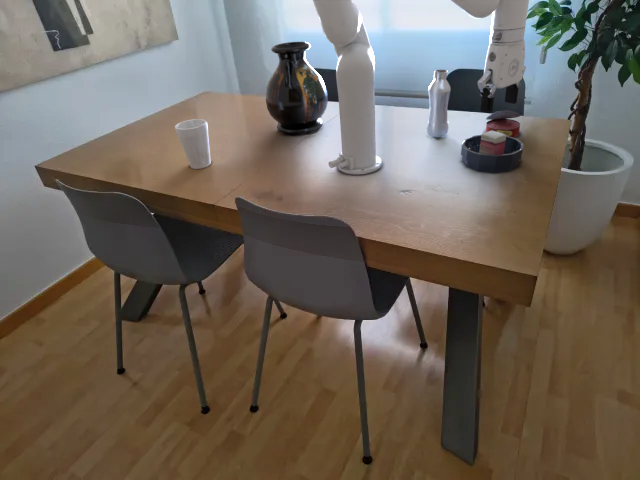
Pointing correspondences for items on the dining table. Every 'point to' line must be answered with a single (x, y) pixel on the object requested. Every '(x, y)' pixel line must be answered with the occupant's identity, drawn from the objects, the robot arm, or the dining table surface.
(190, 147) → the foam cup
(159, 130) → the dining table surface
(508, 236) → the dining table surface
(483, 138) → the small box
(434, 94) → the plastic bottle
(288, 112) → the amphora vase
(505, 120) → the canned food
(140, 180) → the dining table surface
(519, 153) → the ring
